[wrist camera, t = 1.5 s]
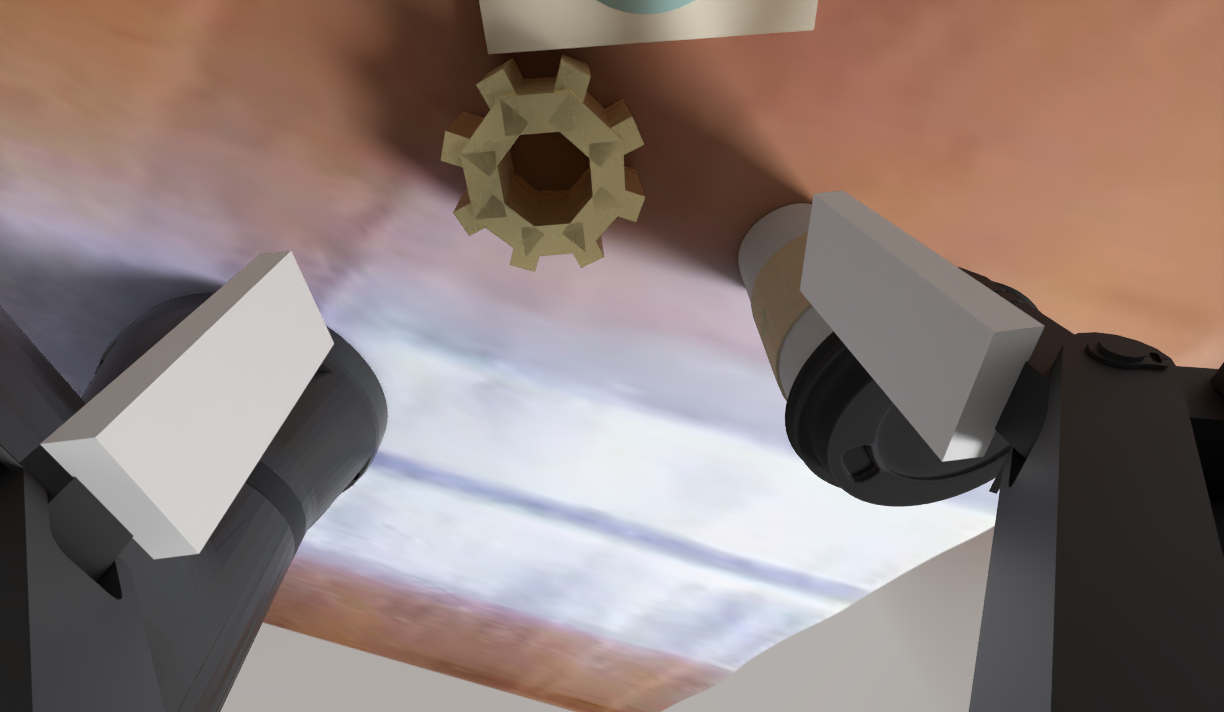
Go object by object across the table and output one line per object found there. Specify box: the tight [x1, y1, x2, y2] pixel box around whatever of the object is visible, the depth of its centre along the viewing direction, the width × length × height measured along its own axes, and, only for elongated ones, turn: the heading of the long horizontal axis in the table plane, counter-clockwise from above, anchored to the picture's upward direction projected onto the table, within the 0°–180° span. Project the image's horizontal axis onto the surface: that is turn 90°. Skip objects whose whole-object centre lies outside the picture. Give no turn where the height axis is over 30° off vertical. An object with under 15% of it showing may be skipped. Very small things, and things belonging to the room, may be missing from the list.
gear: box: [441, 54, 645, 272], centre depth 24 cm, size 8×8×5 cm
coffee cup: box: [738, 203, 1041, 506], centre depth 24 cm, size 9×9×15 cm
